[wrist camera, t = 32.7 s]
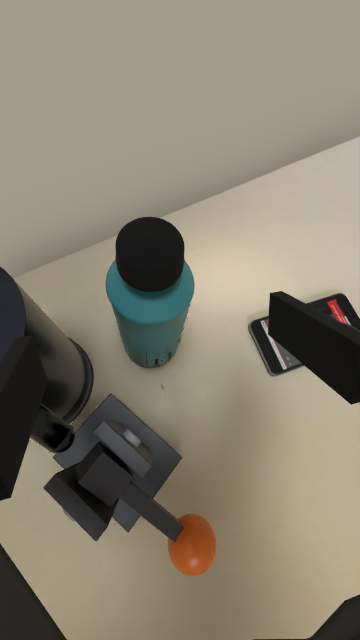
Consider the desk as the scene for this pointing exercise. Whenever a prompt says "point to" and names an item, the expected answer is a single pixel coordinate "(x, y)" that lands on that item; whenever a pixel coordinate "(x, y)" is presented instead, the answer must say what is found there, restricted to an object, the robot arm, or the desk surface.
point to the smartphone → (279, 357)
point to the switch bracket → (131, 447)
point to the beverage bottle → (150, 289)
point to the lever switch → (149, 510)
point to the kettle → (46, 365)
